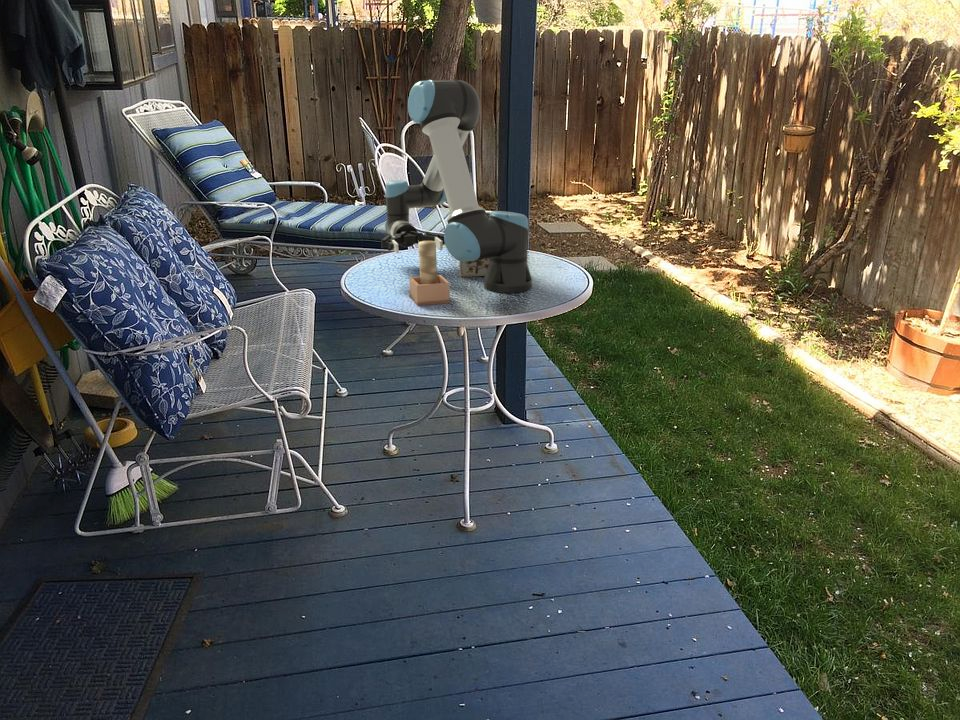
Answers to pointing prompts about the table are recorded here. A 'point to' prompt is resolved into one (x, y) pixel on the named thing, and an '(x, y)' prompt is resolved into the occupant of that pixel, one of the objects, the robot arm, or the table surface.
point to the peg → (427, 262)
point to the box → (429, 291)
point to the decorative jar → (474, 267)
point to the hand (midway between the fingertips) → (419, 247)
